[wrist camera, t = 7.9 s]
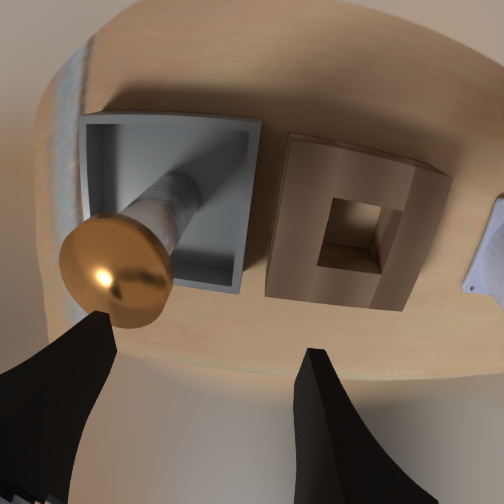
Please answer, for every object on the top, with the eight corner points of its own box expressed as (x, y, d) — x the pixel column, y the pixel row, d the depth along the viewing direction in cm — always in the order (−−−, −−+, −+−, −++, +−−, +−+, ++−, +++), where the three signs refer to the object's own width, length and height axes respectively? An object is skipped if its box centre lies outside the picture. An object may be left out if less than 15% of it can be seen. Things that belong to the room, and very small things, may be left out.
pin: (215, 164, 17) (164, 233, 9) (209, 234, 19) (168, 338, 11) (142, 158, 17) (50, 218, 9) (143, 225, 19) (71, 315, 11)
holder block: (429, 164, 16) (452, 178, 14) (389, 285, 21) (402, 311, 18) (288, 131, 16) (291, 139, 14) (266, 269, 21) (264, 296, 18)
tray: (263, 119, 16) (261, 123, 14) (242, 272, 21) (239, 294, 19) (100, 111, 16) (79, 115, 14) (106, 251, 21) (91, 269, 19)
